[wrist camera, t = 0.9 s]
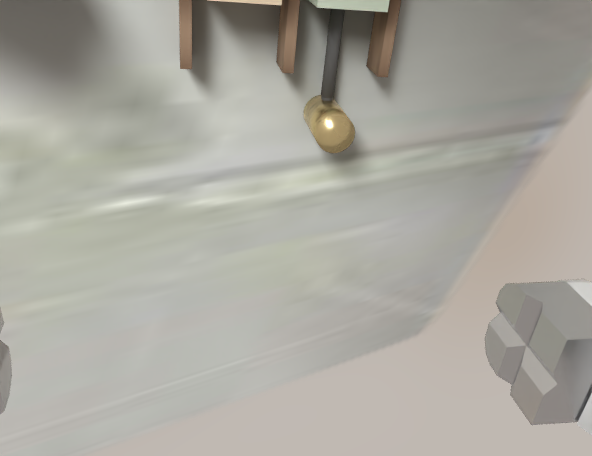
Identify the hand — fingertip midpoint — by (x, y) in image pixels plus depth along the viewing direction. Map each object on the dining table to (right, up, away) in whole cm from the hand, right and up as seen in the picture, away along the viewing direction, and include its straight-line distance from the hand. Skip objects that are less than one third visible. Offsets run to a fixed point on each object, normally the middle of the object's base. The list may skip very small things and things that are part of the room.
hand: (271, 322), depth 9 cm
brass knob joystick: (+3, +17, +34) cm, 38 cm away
